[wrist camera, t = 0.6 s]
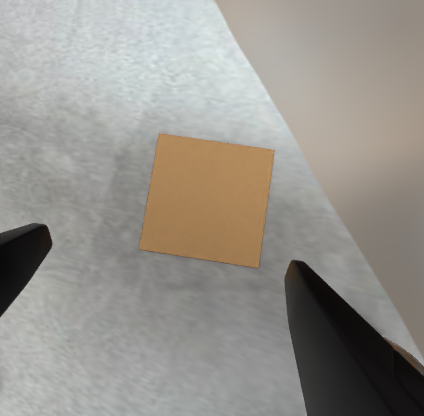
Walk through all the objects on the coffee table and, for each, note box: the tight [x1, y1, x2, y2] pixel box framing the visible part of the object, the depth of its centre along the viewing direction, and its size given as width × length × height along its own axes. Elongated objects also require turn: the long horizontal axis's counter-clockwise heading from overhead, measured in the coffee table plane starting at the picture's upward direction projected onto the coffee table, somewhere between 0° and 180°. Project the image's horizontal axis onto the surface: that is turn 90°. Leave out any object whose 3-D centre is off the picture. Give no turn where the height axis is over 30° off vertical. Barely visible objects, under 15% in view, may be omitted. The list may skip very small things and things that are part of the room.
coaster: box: [139, 133, 274, 268], centre depth 23 cm, size 12×12×1 cm
